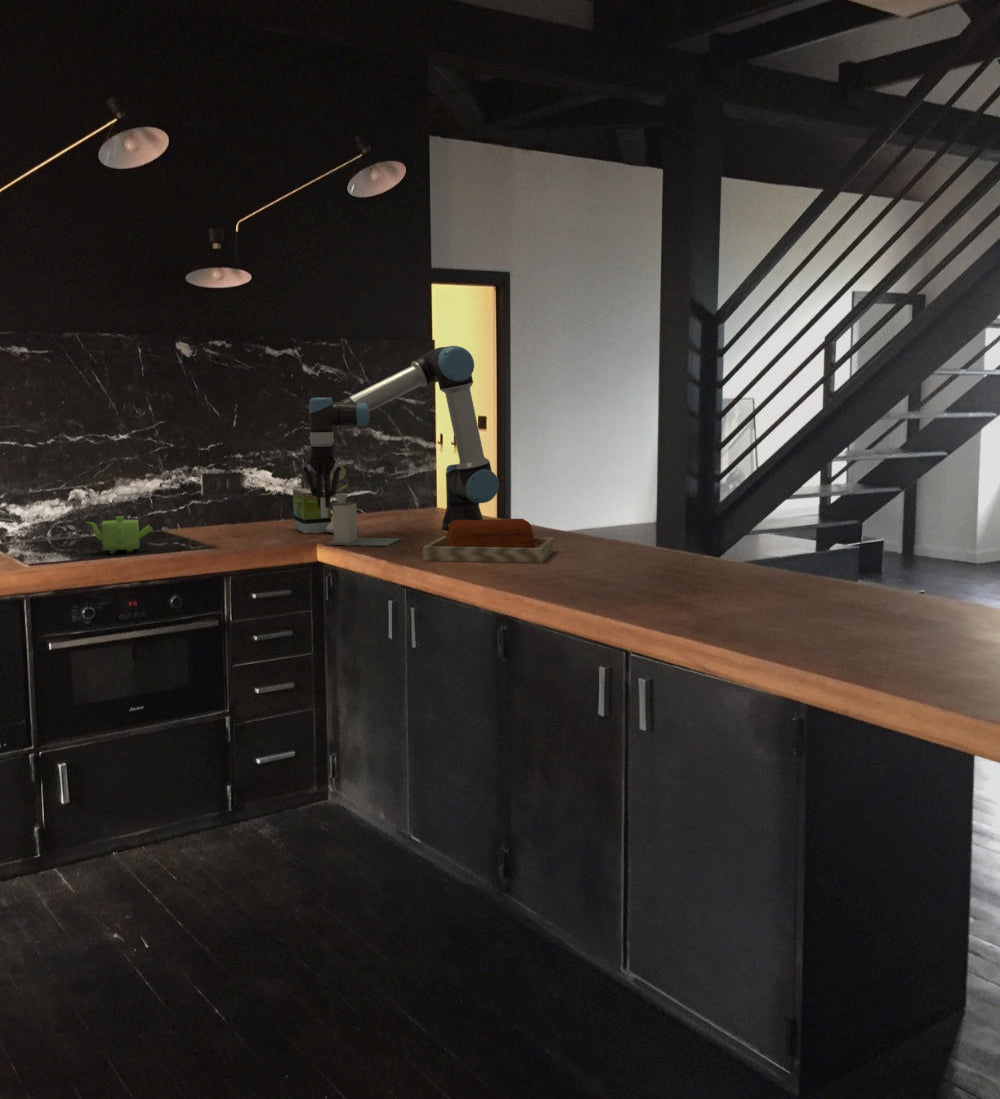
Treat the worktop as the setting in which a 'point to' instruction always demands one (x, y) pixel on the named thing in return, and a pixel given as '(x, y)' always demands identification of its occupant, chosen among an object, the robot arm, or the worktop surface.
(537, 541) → the wooden tray
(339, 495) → the flower in vase
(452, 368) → the robot arm
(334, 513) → the block
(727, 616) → the worktop surface
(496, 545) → the bread
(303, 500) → the tea box
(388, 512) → the worktop surface
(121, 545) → the kettle
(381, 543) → the mat
